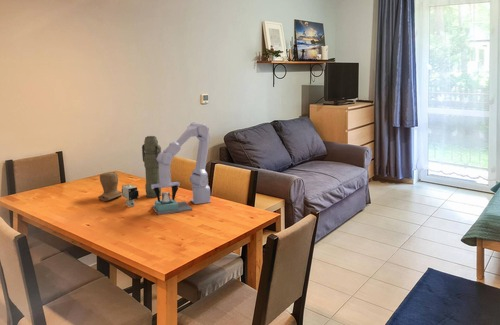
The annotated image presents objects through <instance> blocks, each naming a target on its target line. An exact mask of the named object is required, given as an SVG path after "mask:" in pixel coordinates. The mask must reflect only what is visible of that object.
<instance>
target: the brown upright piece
mask: <svg viewBox="0 0 500 325" xmlns="http://www.w3.org/2000/svg"><path fill="white" fill-rule="evenodd" d="M99 182H100V185H101V187H102V189H103V193H102V194H100V195H99V196H97V197H98V199H99V200H101V201H103V202H107V201H111V200H113V199H115V198H116V199H117V197H118V198H119V197H121V196H123V194H122V191H119V190H118V185H119V177H118V173H117V172H116V171H110V172H103V173H100V174H99Z"/></svg>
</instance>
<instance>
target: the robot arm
mask: <svg viewBox="0 0 500 325" xmlns="http://www.w3.org/2000/svg"><path fill="white" fill-rule="evenodd" d="M209 130H210V129H209V127H208V125H206V124H205V123H200V122H191V123H190V124H189V125H188V126H187V127H186V129H185V131H184V132H183V133H182V134H181V135H180V137H179V138H178V139H177V140H176V141H172V142H169V144H168V146H167V147H166V148H165V149H163V151H161V153H159V154H158V156H157V158H156V159H157V161H158V163H159V176H160V183H158V184H153V185H151V188H152V189H154V191H155V193H156V196H157V197H156V199H157V200H158V202H160V200H161V196H160V190H159V188H161V189H163V188H171V196H172V197H171V199H173V200H175V199H176V194H177V191H178V190H179V187H180V185H181V183H180V181H172V175H171V164H172V162H173V158H174V157H175V156H176V155H177V154H178V153H179V152H180V151H181V149H182V148H181V147H182V146H183V145H184V144H185V143H186V142H188V140H189V139H190V138H192V137H196V138H197V139H198V148H197V153H196V154H197V155H196V162H195V167H194V169H192V172H191V175H190V177H189V182H190V183H191V186H192V198H191V199H190V201H191V202H192V203H193V204H194V205H198V204H207V203H211V202H212V201H211V188H210V185H209V184H208V183H209V178H208V172H207V171H206V166H207V162H208V161H207V159H208V152H209V145H210V139H211V138H210V133H209ZM175 201H176V200H175Z"/></svg>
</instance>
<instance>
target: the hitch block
mask: <svg viewBox="0 0 500 325" xmlns="http://www.w3.org/2000/svg"><path fill="white" fill-rule="evenodd" d="M151 207H152V208H153V210H154V211H155V213H156V214H157V216H160V215H169V214H176V213H184V212H190V211H193V207H191V206H190V205H189V203H188V202H186V201H185V200H183V201H176V200H173V199H172V198H170V204H162V199H160V202H158V199H157V200H154V204H152V206H151Z"/></svg>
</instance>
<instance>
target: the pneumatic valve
mask: <svg viewBox="0 0 500 325" xmlns="http://www.w3.org/2000/svg"><path fill="white" fill-rule="evenodd" d="M121 192H122V197H123V198H125V199H126V200H125V202H126V206H127V208H128V207H129V208H130V207H135V206H136V203H135V200H138V199H139V190H138V187H137V186H136V185H132V184H130V183H129V184H123V185H121Z"/></svg>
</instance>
